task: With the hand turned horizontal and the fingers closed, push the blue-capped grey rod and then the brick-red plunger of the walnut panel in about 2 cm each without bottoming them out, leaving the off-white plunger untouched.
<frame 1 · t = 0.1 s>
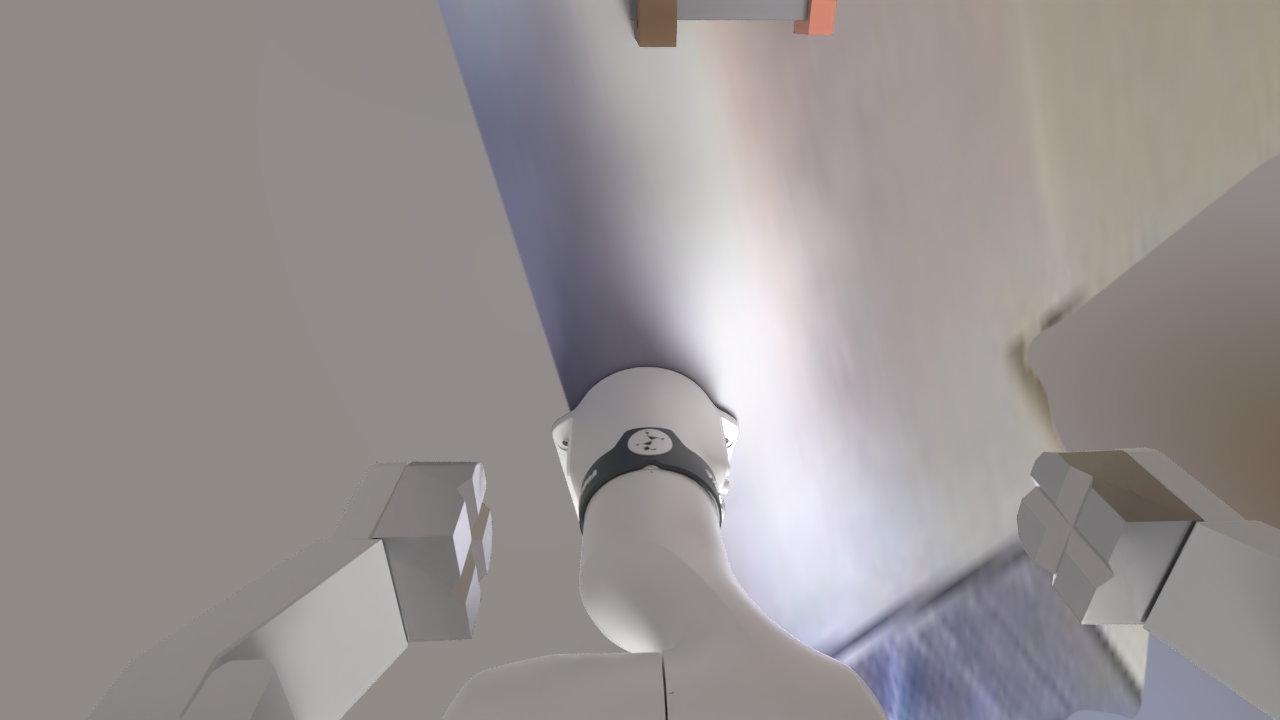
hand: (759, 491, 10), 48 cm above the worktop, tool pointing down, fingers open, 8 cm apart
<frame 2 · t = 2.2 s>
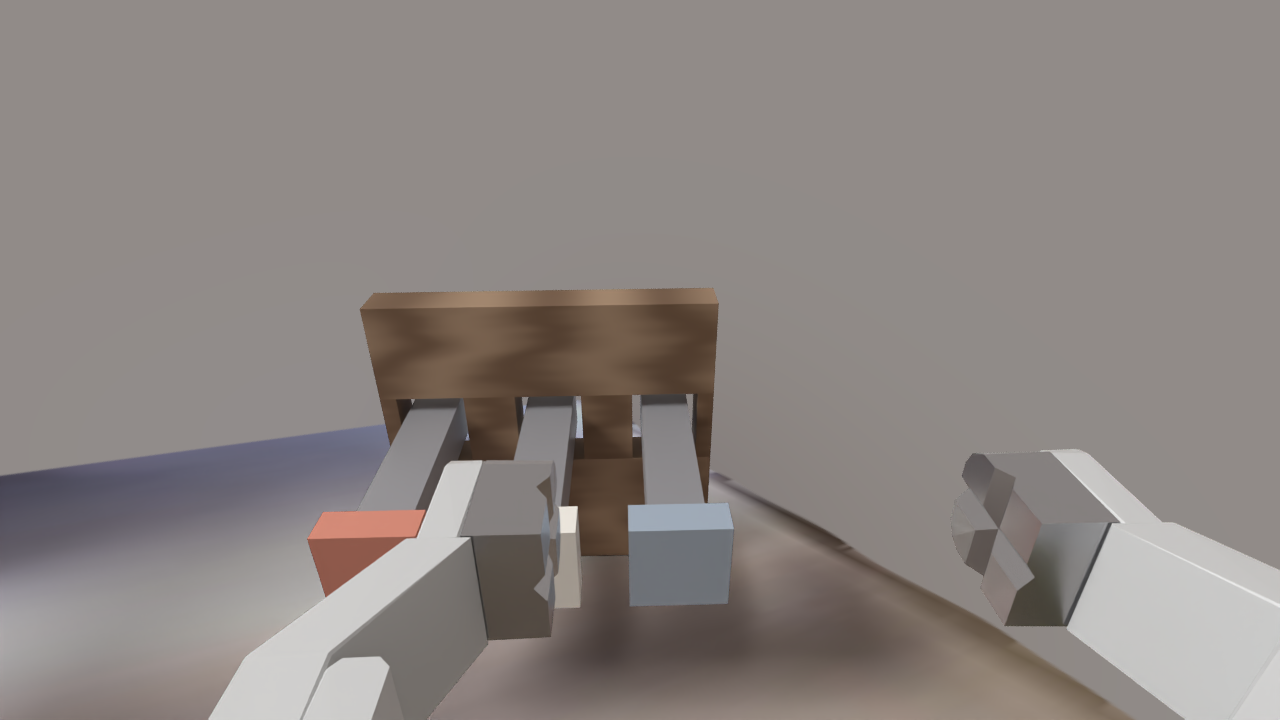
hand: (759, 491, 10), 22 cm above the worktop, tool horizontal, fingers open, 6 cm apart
walnut panel: (562, 544, 40), on the worktop
brick-red plunger: (415, 476, 31), point 9 cm above the worktop, slide at 0.0 cm
off-white plunger: (543, 473, 31), point 9 cm above the worktop, slide at 0.0 cm
blue-capped grey rod: (669, 470, 31), point 9 cm above the worktop, slide at 0.0 cm
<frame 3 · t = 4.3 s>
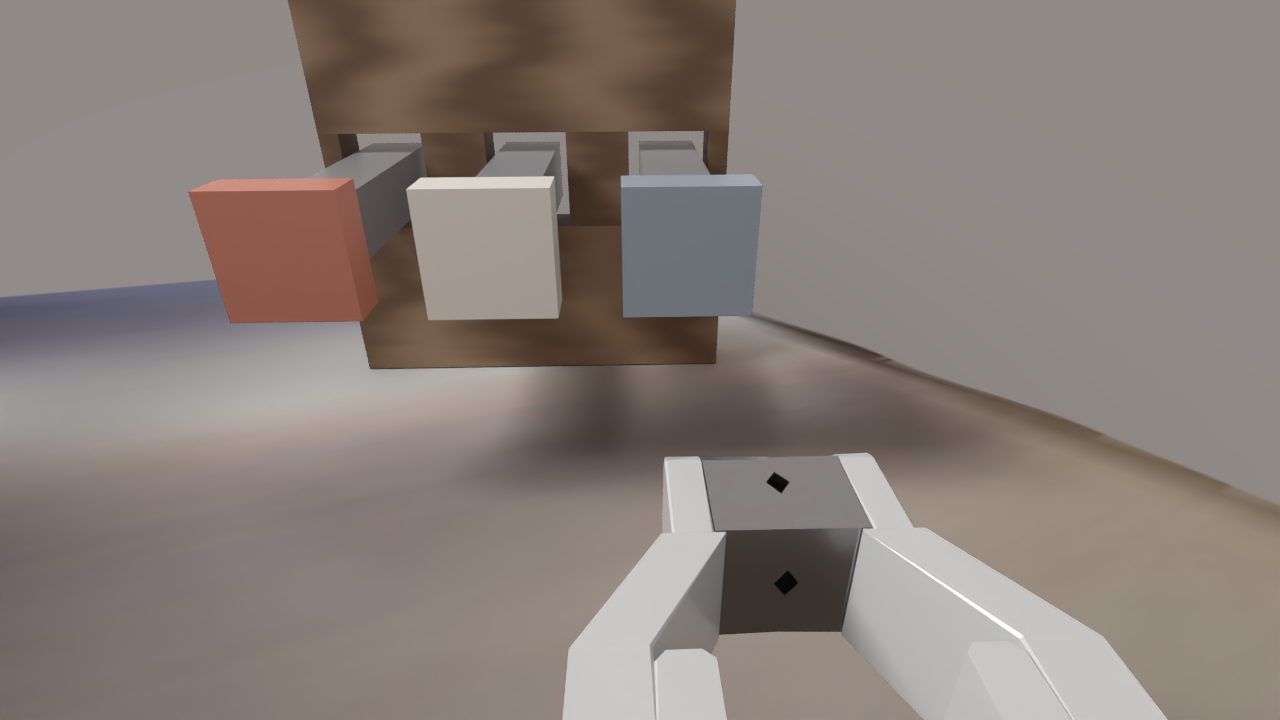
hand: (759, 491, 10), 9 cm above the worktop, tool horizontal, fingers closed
walnut panel: (545, 356, 33), on the worktop
brick-red plunger: (356, 204, 25), point 9 cm above the worktop, slide at 0.0 cm
off-white plunger: (516, 203, 25), point 9 cm above the worktop, slide at 0.0 cm
blue-capped grey rod: (674, 201, 25), point 9 cm above the worktop, slide at 0.0 cm
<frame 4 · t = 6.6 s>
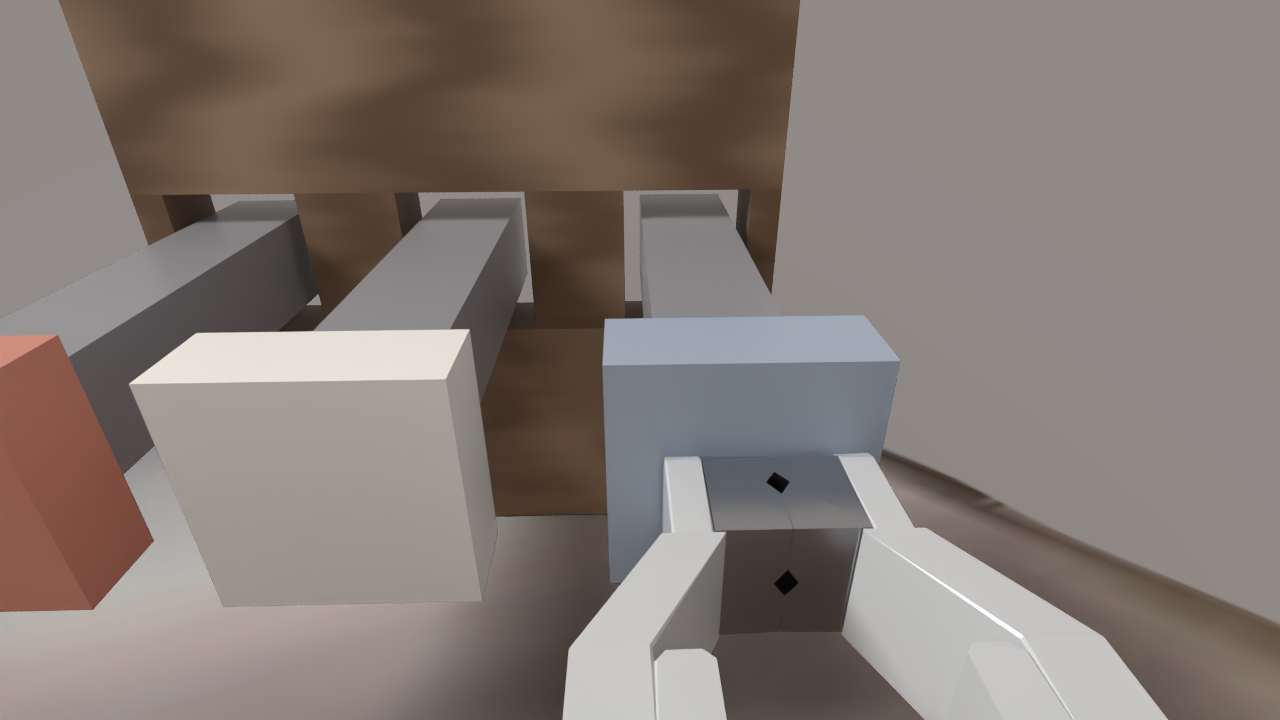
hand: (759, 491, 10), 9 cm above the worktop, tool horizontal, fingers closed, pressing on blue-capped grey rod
walnut panel: (506, 496, 23), on the worktop
brick-red plunger: (165, 324, 15), point 9 cm above the worktop, slide at 0.0 cm
off-white plunger: (434, 320, 15), point 9 cm above the worktop, slide at 0.0 cm
blue-capped grey rod: (698, 311, 15), point 9 cm above the worktop, slide at 0.3 cm, touching gripper
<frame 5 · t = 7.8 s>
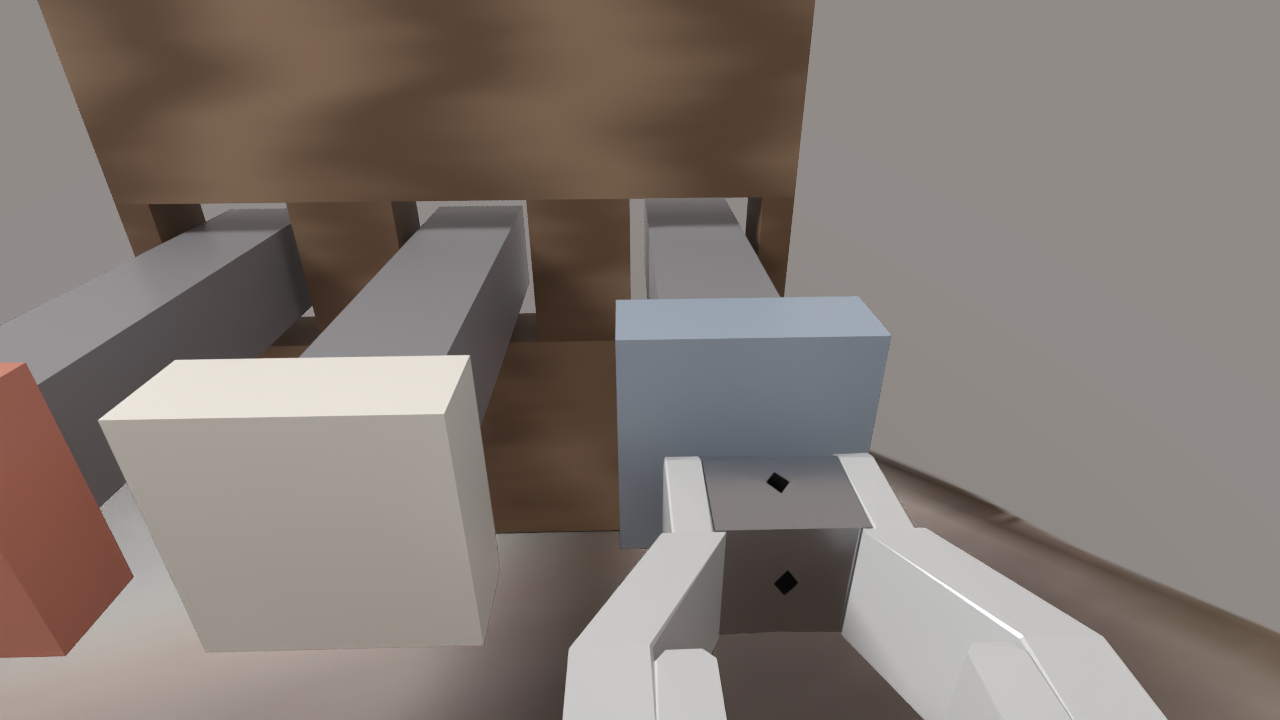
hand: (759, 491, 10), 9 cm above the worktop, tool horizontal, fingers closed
walnut panel: (507, 512, 23), on the worktop
brick-red plunger: (150, 341, 14), point 9 cm above the worktop, slide at 0.0 cm
off-white plunger: (433, 337, 14), point 9 cm above the worktop, slide at 0.0 cm
blue-capped grey rod: (701, 299, 16), point 9 cm above the worktop, slide at 1.9 cm
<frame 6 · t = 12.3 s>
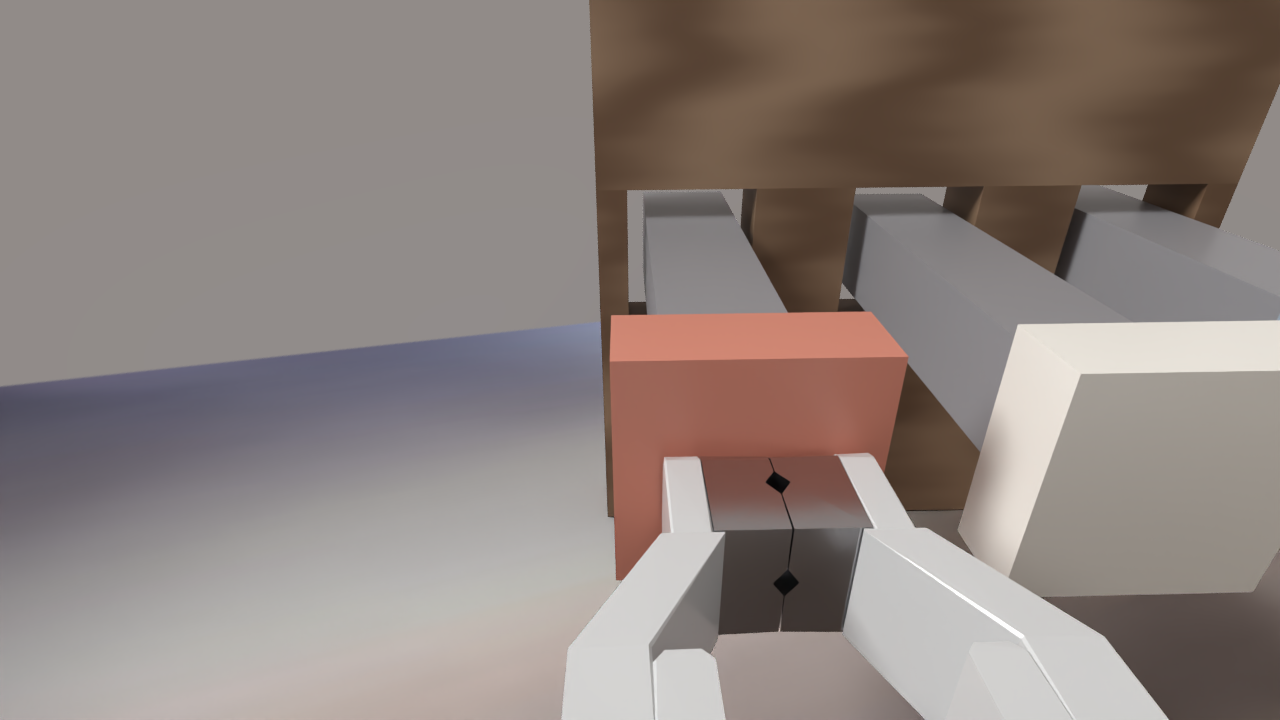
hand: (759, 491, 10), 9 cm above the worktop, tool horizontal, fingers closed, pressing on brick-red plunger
walnut panel: (848, 492, 23), on the worktop
brick-red plunger: (702, 309, 15), point 9 cm above the worktop, slide at 0.5 cm, touching gripper
off-white plunger: (969, 314, 15), point 9 cm above the worktop, slide at 0.0 cm
blue-capped grey rod: (1168, 281, 17), point 9 cm above the worktop, slide at 1.9 cm
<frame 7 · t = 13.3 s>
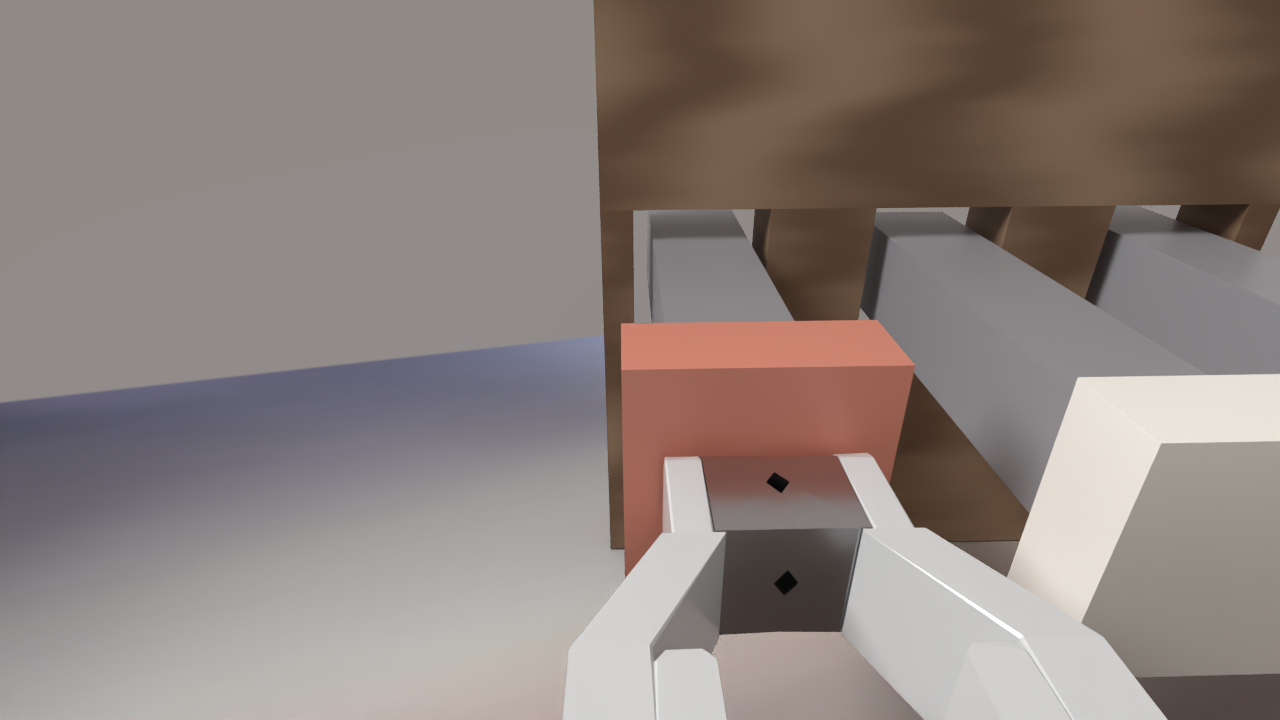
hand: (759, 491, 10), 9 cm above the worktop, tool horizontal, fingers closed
walnut panel: (862, 522, 22), on the worktop
brick-red plunger: (707, 315, 15), point 9 cm above the worktop, slide at 1.9 cm
off-white plunger: (1002, 348, 14), point 9 cm above the worktop, slide at 0.0 cm
blue-capped grey rod: (1210, 308, 16), point 9 cm above the worktop, slide at 1.9 cm
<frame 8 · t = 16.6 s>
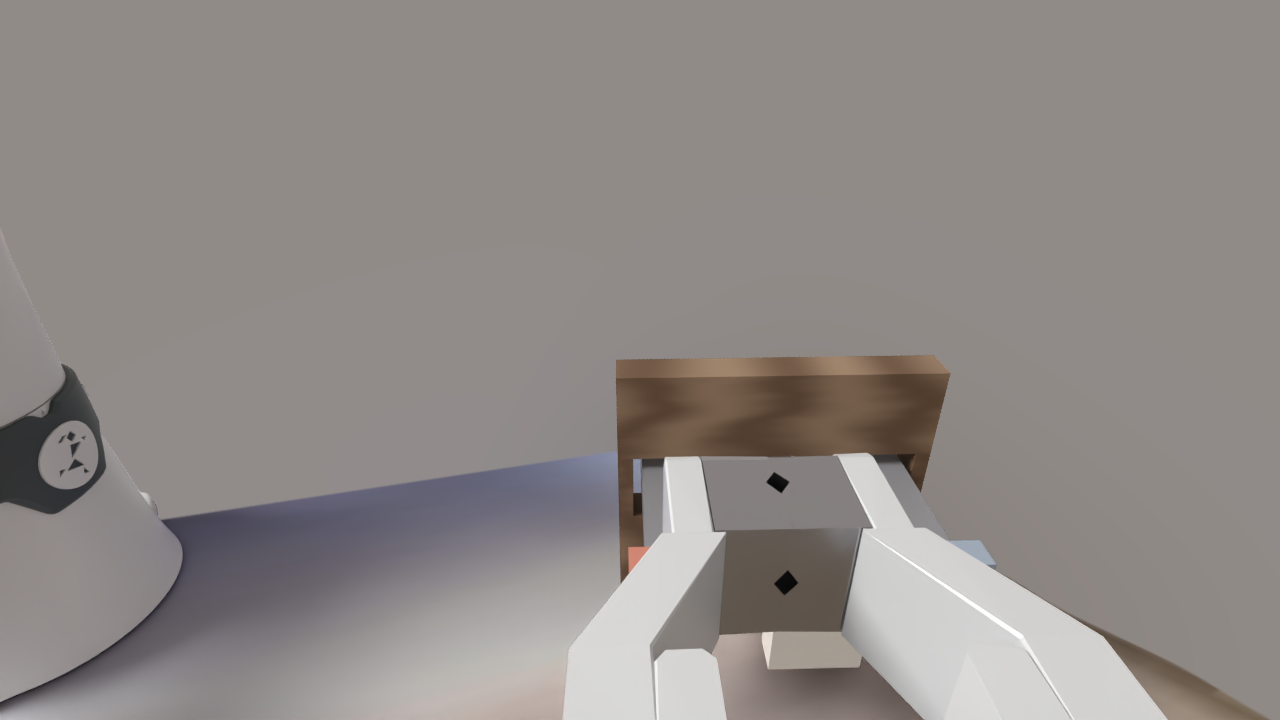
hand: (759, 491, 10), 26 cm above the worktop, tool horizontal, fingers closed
walnut panel: (755, 588, 42), on the worktop
brick-red plunger: (665, 510, 35), point 9 cm above the worktop, slide at 1.9 cm
off-white plunger: (786, 532, 33), point 9 cm above the worktop, slide at 0.0 cm
blue-capped grey rod: (890, 505, 35), point 9 cm above the worktop, slide at 1.9 cm
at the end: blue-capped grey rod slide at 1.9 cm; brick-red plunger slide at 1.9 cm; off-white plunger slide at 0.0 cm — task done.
